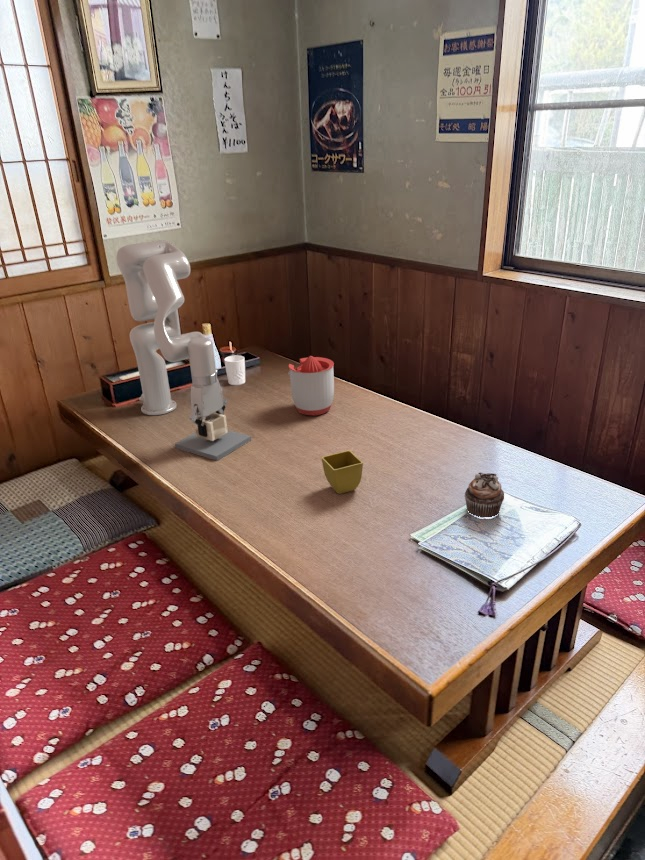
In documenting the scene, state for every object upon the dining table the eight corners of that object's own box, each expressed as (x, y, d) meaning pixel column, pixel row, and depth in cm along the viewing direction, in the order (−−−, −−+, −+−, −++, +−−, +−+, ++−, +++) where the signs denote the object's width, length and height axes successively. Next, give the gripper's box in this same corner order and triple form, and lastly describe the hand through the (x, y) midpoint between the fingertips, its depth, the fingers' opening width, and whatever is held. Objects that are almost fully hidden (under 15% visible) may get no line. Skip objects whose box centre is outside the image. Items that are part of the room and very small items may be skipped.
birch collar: (196, 436, 201) (193, 419, 198) (211, 428, 206) (209, 411, 203) (212, 441, 197) (210, 423, 195) (227, 432, 202) (225, 415, 200)
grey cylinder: (204, 440, 202) (202, 420, 199) (212, 436, 205) (209, 416, 202) (213, 443, 200) (210, 423, 197) (220, 438, 203) (218, 418, 200)
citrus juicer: (305, 397, 235) (302, 345, 227) (344, 406, 226) (342, 352, 217) (278, 411, 224) (274, 358, 215) (318, 422, 214) (315, 366, 206)
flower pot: (322, 485, 176) (320, 456, 173) (350, 477, 179) (349, 449, 176) (335, 499, 169) (333, 470, 165) (364, 491, 172) (363, 462, 168)
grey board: (175, 447, 202) (174, 443, 201) (210, 428, 214) (209, 424, 213) (217, 460, 192) (216, 456, 192) (251, 440, 204) (250, 436, 204)
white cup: (245, 385, 249) (243, 361, 245) (225, 386, 249) (222, 362, 245) (248, 378, 256) (245, 354, 252) (228, 379, 256) (226, 355, 252)
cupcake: (460, 501, 165) (462, 467, 161) (498, 500, 165) (501, 467, 161) (467, 522, 157) (469, 487, 152) (506, 521, 156) (510, 486, 152)
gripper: (215, 367, 202) (221, 418, 209) (175, 385, 189) (183, 439, 197) (232, 371, 198) (238, 423, 206) (193, 390, 185) (201, 444, 193)
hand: (211, 430), depth 201 cm, fingers closed on birch collar, 7 cm apart
